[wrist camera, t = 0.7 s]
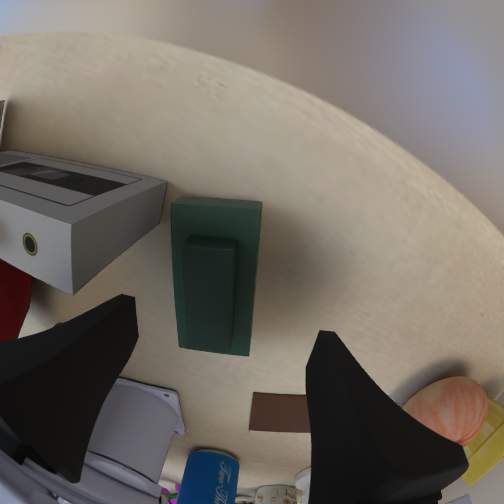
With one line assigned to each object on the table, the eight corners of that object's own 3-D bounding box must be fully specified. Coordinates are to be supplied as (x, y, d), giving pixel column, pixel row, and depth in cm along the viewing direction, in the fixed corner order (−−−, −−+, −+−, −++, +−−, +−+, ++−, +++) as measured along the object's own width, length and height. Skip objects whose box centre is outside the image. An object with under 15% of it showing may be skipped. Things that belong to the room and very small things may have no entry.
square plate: (248, 428, 24) (248, 430, 24) (253, 392, 22) (253, 393, 22) (310, 431, 24) (310, 432, 24) (325, 395, 22) (326, 396, 21)
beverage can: (250, 458, 27) (241, 540, 16) (223, 470, 29) (212, 541, 18) (203, 441, 26) (184, 529, 15) (181, 454, 28) (161, 528, 17)
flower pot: (493, 393, 23) (528, 430, 14) (442, 444, 25) (472, 486, 16) (490, 369, 20) (537, 416, 11) (427, 433, 22) (465, 488, 12)
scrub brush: (252, 326, 19) (246, 374, 15) (191, 319, 19) (172, 363, 15) (263, 197, 16) (259, 218, 12) (188, 192, 16) (159, 210, 12)
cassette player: (167, 181, 16) (51, 234, 6) (159, 223, 17) (57, 309, 7) (11, 150, 15) (-82, 174, 6) (9, 181, 16) (-80, 215, 7)
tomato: (444, 344, 19) (483, 409, 11) (481, 374, 20) (510, 422, 13) (360, 416, 23) (374, 482, 15) (414, 431, 24) (429, 481, 17)
